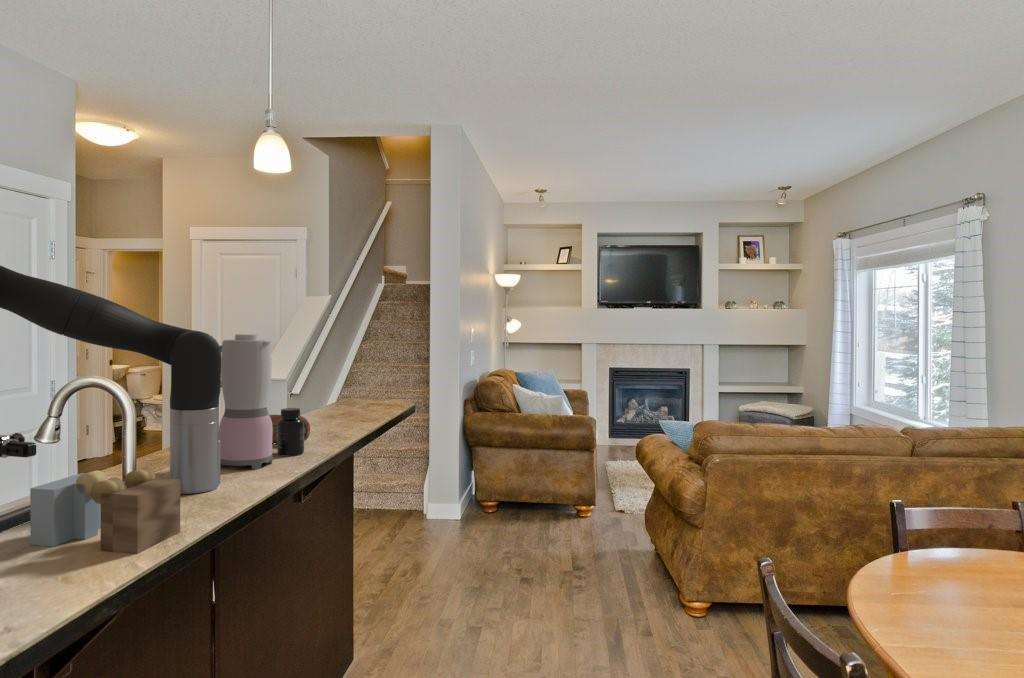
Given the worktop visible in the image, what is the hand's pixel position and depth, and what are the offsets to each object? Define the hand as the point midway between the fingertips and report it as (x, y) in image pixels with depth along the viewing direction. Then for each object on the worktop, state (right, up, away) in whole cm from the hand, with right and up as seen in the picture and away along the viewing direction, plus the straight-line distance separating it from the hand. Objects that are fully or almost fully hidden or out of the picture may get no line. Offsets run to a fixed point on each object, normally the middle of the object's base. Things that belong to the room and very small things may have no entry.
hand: (32, 450), depth 104 cm
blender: (+12, -13, +51) cm, 54 cm away
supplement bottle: (+20, -12, +64) cm, 69 cm away
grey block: (+8, -14, 0) cm, 16 cm away
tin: (+14, -12, +77) cm, 80 cm away
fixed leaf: (+18, -14, -1) cm, 23 cm away
